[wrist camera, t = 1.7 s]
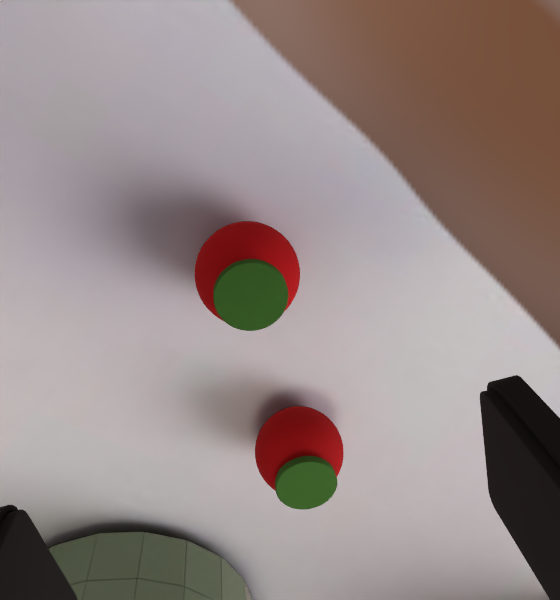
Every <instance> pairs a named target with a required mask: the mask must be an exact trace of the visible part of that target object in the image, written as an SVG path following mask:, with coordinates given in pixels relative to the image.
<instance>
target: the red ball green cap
mask: <svg viewBox="0 0 560 600" xmlns="http://www.w3.org/2000/svg"><path fill="white" fill-rule="evenodd" d="M299 279H300V268H299V262H298V259H297V256H296V253H295V251H294V249H293V247H292V246H291V244H290V243H289V241H288V240H287V239H286V238H285V237H284V236H283V235H282V234H281V233H279V232H278V231H277V230H275V229H273V228H272V227H270V226H267V225H265V224H262V223H258V222H250V221H244V222H237V223H232V224H229V225H227V226H225V227H223V228H221V229H219V230H218V231H216V232H215V233H214V234H212V235H211V236H210V237H209V239H208V240H207V241H206V242H205V243H204V245H203V246H202V248H201V250H200V252H199V254H198V257H197V260H196V265H195V283H196V287H197V291H198V293H199V296H200V298H201V300H202V301H203V303H204V305H205V306H206V307H207V308H208V309H209V310H210V311H211V312H212V313H213V314H214V315H215V316H217V317H218V318H219V319H221V320H223V321H225V322H226V323H227V324H229V325H230V326H232V327H234V328H237V329H241V330H246V331H253V330H259V329H263V328H266V327H268V326H270V325H271V324H273V323H274V322H275V321H277V320H278V319H279V318H280V317H281V315H282V314H283V312H284V311H285V310H286V309H287V308H288V307H289V305H290V304H291V302H292V301H293V299H294V297H295V295H296V293H297V290H298V286H299Z"/></svg>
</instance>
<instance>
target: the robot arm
mask: <svg viewBox="0 0 560 600" xmlns="http://www.w3.org/2000/svg"><path fill="white" fill-rule="evenodd" d="M480 404H481V414H482V425H483V436H484V446H485V457H486V467H487V478H488V489H489V494H490V498H491V501H492V503H493V506H494V508H495V510H496V511H497V513H498V515H499V516H500V518H501V520H502V521H503V523H504V525H505V526H506V528H507V529H508V531H509V533H510V534H511V536H512V538H513V539H514V541H515V543H516V544H517V546H518V548H519V549H520V551H521V553H522V554H523V556H524V557H525V559H526V561H527V562H528V564H529V566H530V567H531V569H532V571H533V572H534V574H535V576H536V577H537V579H538V581H539V582H540V584H541V585H542V587H543V589H544V590H545V592H546V594H547V595H548V597H549V599H550V600H560V418H559V417H558V416H557V415H556V414H555V413H554V412H553V411H552V410H551V409H550V408H549V407H548V405H547V404H546V403H545V402H544V401H543V400H542V399H541V398H540V397H539V396H538V395H537V394H536V393H535V392H534V391H533V390H532V389H531V387H530V386H529V385H528V384H527V383H526V382H525V381H524V380H523V379H522V378H521V377H519V376H517V375H516V376H512V377H508V378H504V379H500V380H496V381H492V382H489V383H488V386H487V391H483V392H481V393H480ZM0 600H78V599H77V596H76V594H75V592H74V591H73V589H72V587H71V586H70V584H69V582H68V581H67V579H66V577H65V576H64V574H63V572H62V571H61V569H60V567H59V566H58V564H57V562H56V561H55V559H54V557H53V556H52V554H51V552H50V551H49V549H48V547H47V546H46V544H45V542H44V541H43V539H42V537H41V536H40V534H39V532H38V531H37V529H36V527H35V526H34V524H33V522H32V521H31V519H30V517H29V516H28V514H27V513H26V511H24V510H18V509H17V507H15V506H13V505H7V506H3V507H0Z"/></svg>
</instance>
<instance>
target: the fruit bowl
mask: <svg viewBox="0 0 560 600" xmlns="http://www.w3.org/2000/svg"><path fill="white" fill-rule="evenodd" d="M49 551H50V552H51V554H52V556H53V557H54V559H55V561H56V562H57V564H58V566H59V567H60V569H61V571H62V572H63V574H64V576H65V577H66V579H67V581H68V582H69V584H70V586H71V587H72V589H73V591H74V592H75V594H76V596H77V599H78V600H253V599H252V597H251V594H250V592H249V590H248V587H247V585H246V582H245V580H244V578H243V577H241V576H240V575H239V574H238V573H237V572H236V571H235V570H234V569H233V568H232V567H231V566H230V565H229V564H228V563H227V562H226V561H225V560H224V559H223V558H222V557H220V556H218V555H216V554H214V553H212V552H210V551H208V550H206V549H204V548H202V547H200V546H198V545H196V544H194V543H192V542H190V541H186V540H183V539H178V538H173V537H168V536H163V535H158V534H153V533H148V532H115V533H98V534H94V535H90V536H86V537H83V538H79V539H75V540H72V541H68V542H64V543H60V544H57V545H55V546H52V547H50V548H49Z"/></svg>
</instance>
